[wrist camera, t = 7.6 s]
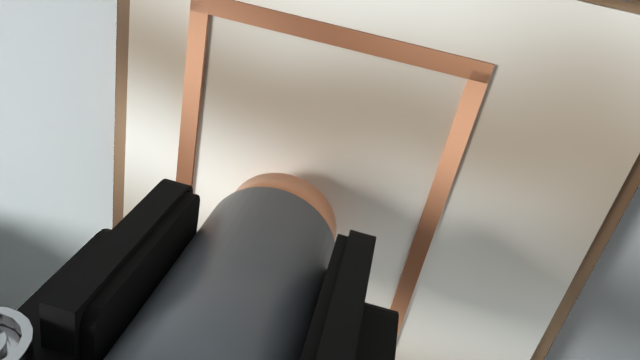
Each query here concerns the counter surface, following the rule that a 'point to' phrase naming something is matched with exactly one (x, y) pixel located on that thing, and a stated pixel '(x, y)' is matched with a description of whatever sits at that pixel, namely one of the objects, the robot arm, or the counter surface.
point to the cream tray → (404, 141)
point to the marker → (241, 279)
